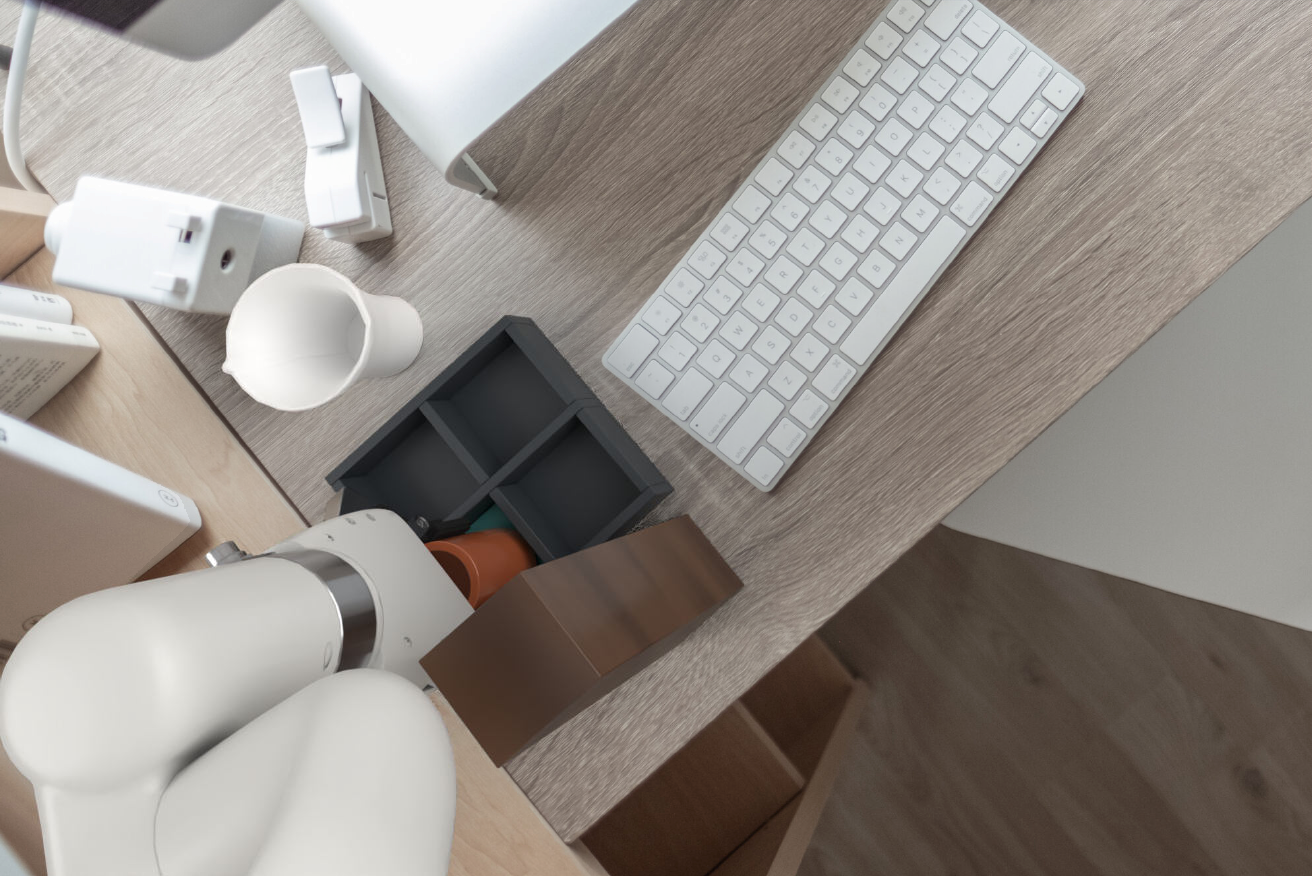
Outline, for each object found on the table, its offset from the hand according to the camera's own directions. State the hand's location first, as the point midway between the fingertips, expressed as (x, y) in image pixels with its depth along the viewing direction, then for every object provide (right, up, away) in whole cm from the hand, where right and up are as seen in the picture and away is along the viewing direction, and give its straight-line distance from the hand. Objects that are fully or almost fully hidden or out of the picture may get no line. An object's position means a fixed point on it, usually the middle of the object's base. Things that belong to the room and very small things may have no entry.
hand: (478, 574), depth 73 cm
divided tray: (0, +5, +5) cm, 7 cm away
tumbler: (0, 0, +2) cm, 2 cm away
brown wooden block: (+12, -1, +3) cm, 12 cm away
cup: (-9, +14, +7) cm, 18 cm away
